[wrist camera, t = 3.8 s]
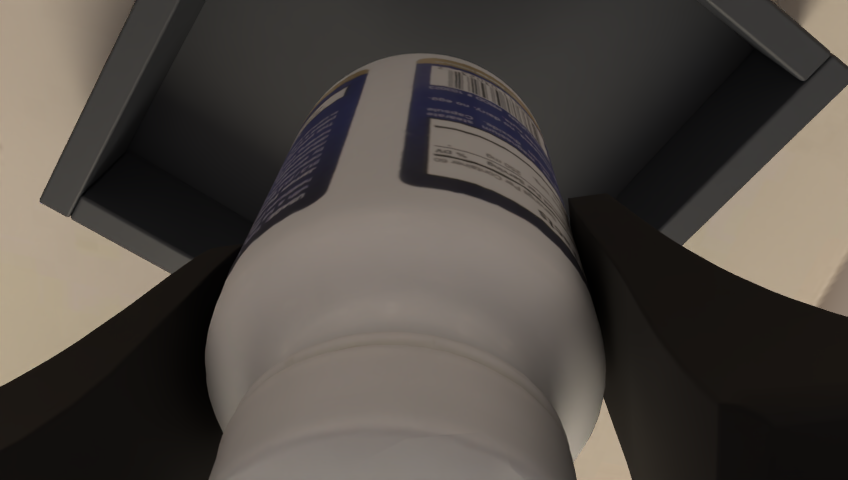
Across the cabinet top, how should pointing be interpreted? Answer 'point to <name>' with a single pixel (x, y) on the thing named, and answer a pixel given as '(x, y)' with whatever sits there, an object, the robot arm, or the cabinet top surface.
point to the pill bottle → (408, 294)
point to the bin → (444, 35)
